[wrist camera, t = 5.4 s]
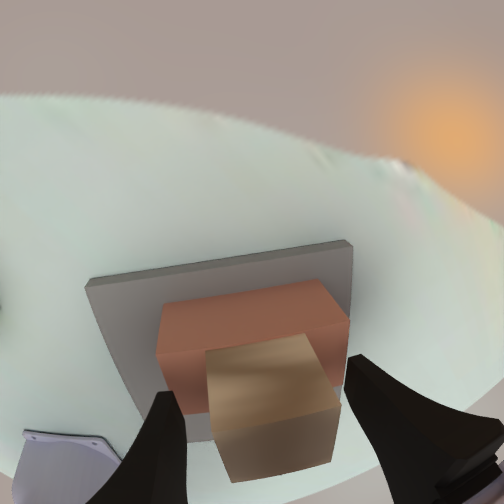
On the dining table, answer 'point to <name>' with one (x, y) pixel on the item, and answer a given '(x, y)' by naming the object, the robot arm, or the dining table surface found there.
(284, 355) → the beech cube
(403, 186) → the dining table surface
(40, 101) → the dining table surface
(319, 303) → the terracotta brick
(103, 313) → the building plate
